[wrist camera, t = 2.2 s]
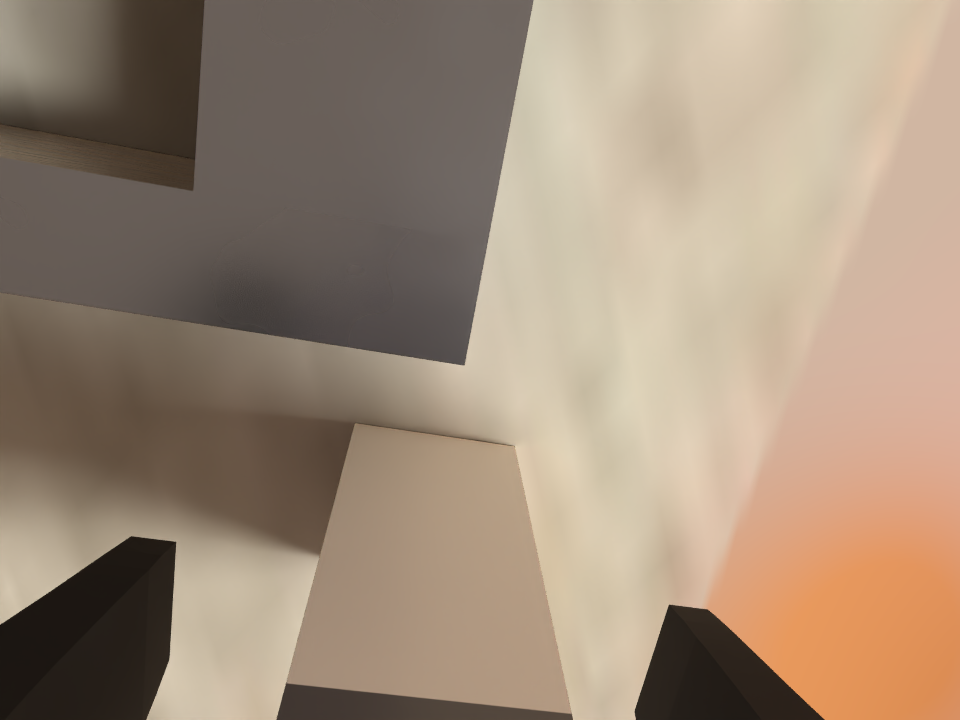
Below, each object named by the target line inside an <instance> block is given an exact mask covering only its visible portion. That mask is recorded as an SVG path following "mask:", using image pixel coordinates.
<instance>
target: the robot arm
mask: <svg viewBox="0 0 960 720" xmlns="http://www.w3.org/2000/svg"><path fill="white" fill-rule="evenodd" d="M175 553H176V542H172V541H164V540H156V539H148V538H141V537H133V536H131V537H130V538H128V539H127V540H125V541H124V542H122V543H121V544H119V545H118V546H116V547H115V548H113V549H112V550H110V551H109V552H107V553H106V554H104V555H103V556H101V557H100V558H98V559H97V560H95V561H94V562H93V563H91V564H90V565H88V566H87V567H85V568H84V569H82V570H81V571H80V572H78V573H77V574H75V575H74V576H72V577H71V578H69V579H68V580H66V581H65V582H64V583H62V584H61V585H59V586H58V587H56V588H55V589H53V590H52V591H50V592H49V593H48V594H46V595H45V596H43V597H41V598H40V599H38V600H37V601H35V602H34V603H32V604H31V605H29V606H28V607H26V608H25V609H23V610H22V611H20V612H19V613H17V614H16V615H14V616H13V617H11V618H10V619H8V620H7V621H5V622H4V623H2V624H1V625H0V720H146V719H147V716H148V714H149V711H150V709H151V706H152V704H153V701H154V699H155V696H156V694H157V691H158V688H159V686H160V683H161V680H162V678H163V675H164V672H165V670H166V667H167V664H168V662H169V656H170V639H171V622H172V605H173V588H174V570H175ZM635 716H636V720H824V719H823V718H822V717H821V716H820V715H819V714H818V713H817V712H816V711H815V710H814V709H813V708H811V707H810V706H809V705H808V704H807V703H806V702H805V701H804V700H803V699H802V698H801V697H800V696H799V695H798V694H797V693H795V691H794V690H793V689H791V688H790V687H789V686H788V685H787V684H786V683H785V682H784V681H783V680H782V679H781V678H780V677H779V676H778V675H777V674H776V673H775V672H774V671H773V670H772V669H771V668H770V667H769V666H768V665H767V664H766V663H765V662H764V661H763V660H761V659H760V658H759V657H758V656H757V655H756V654H755V653H754V652H753V651H752V650H751V649H750V648H749V647H748V646H747V645H746V644H745V643H744V642H743V641H742V640H741V639H740V638H738V636H737V635H736V634H734V633H733V632H732V631H731V630H730V629H729V628H728V627H727V626H726V625H725V624H724V623H722V622H721V621H720V620H719V619H718V618H717V617H716V616H715V615H714V614H712V613H711V612H710V611H709V610H707V609H699V608H691V607H683V606H675V605H669V606H668V609H667V613H666V616H665V619H664V622H663V625H662V628H661V631H660V634H659V637H658V640H657V643H656V647H655V650H654V653H653V656H652V659H651V662H650V665H649V668H648V671H647V674H646V678H645V681H644V684H643V687H642V690H641V693H640V696H639V699H638V702H637V705H636V708H635Z"/></svg>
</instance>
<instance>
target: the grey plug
mask: <svg viewBox="0 0 960 720" xmlns="http://www.w3.org/2000/svg"><path fill="white" fill-rule="evenodd" d="M277 720H573V717H572V713H571V708H570V703H569V698H568V694H567V689H566V684H565V680H564V675H563V670H562V666H561V661H560V656H559V652H558V647H557V642H556V638H555V633H554V628H553V624H552V619H551V614H550V610H549V605H548V600H547V595H546V591H545V586H544V581H543V577H542V572H541V567H540V563H539V558H538V553H537V549H536V544H535V539H534V535H533V530H532V525H531V521H530V516H529V511H528V506H527V502H526V497H525V492H524V488H523V483H522V478H521V474H520V469H519V464H518V460H517V455H516V450H515V446H508V445H501V444H494V443H488V442H481V441H474V440H467V439H460V438H453V437H447V436H440V435H433V434H426V433H419V432H412V431H406V430H399V429H392V428H385V427H378V426H371V425H364V424H358V423H355V425H354V429H353V433H352V436H351V440H350V444H349V448H348V451H347V455H346V459H345V463H344V467H343V470H342V474H341V478H340V482H339V485H338V489H337V493H336V497H335V501H334V504H333V508H332V512H331V516H330V519H329V523H328V527H327V531H326V535H325V538H324V542H323V546H322V550H321V553H320V557H319V561H318V565H317V569H316V572H315V576H314V580H313V584H312V587H311V591H310V595H309V599H308V603H307V606H306V610H305V614H304V618H303V621H302V625H301V629H300V633H299V637H298V640H297V644H296V648H295V652H294V655H293V659H292V663H291V667H290V671H289V674H288V678H287V682H286V686H285V689H284V693H283V697H282V701H281V705H280V708H279V712H278V716H277Z"/></svg>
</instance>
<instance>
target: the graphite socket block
mask: <svg viewBox="0 0 960 720" xmlns="http://www.w3.org/2000/svg"><path fill="white" fill-rule="evenodd" d="M532 5H533V0H204V18H203V35H202V52H201V69H200V86H199V103H198V121H197V138H196V155H195V159H191V158H185V157H180V156H174V155H169V154H163V153H158V152H152V151H147V150H141V149H135V148H130V147H124V146H119V145H113V144H108V143H102V142H97V141H91V140H86V139H80V138H75V137H69V136H64V135H58V134H52V133H47V132H41V131H36V130H30V129H25V128H19V127H14V126H8V125H3V124H0V292H1V293H7V294H14V295H20V296H26V297H33V298H39V299H46V300H52V301H58V302H65V303H71V304H77V305H84V306H90V307H96V308H103V309H109V310H115V311H122V312H128V313H134V314H141V315H147V316H153V317H160V318H166V319H173V320H179V321H185V322H192V323H198V324H204V325H211V326H217V327H223V328H230V329H236V330H242V331H249V332H255V333H261V334H268V335H274V336H281V337H287V338H293V339H300V340H306V341H312V342H319V343H325V344H331V345H338V346H344V347H350V348H357V349H363V350H369V351H376V352H382V353H389V354H395V355H401V356H408V357H414V358H420V359H427V360H433V361H439V362H446V363H452V364H458V365H465V359H466V354H467V349H468V344H469V338H470V333H471V328H472V322H473V317H474V312H475V307H476V301H477V296H478V291H479V285H480V280H481V275H482V270H483V264H484V259H485V254H486V248H487V243H488V238H489V233H490V227H491V222H492V217H493V211H494V206H495V201H496V196H497V190H498V185H499V180H500V174H501V169H502V164H503V159H504V153H505V148H506V143H507V137H508V132H509V127H510V122H511V116H512V111H513V106H514V100H515V95H516V90H517V85H518V79H519V74H520V69H521V63H522V58H523V53H524V47H525V42H526V37H527V32H528V26H529V21H530V16H531V10H532Z"/></svg>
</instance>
